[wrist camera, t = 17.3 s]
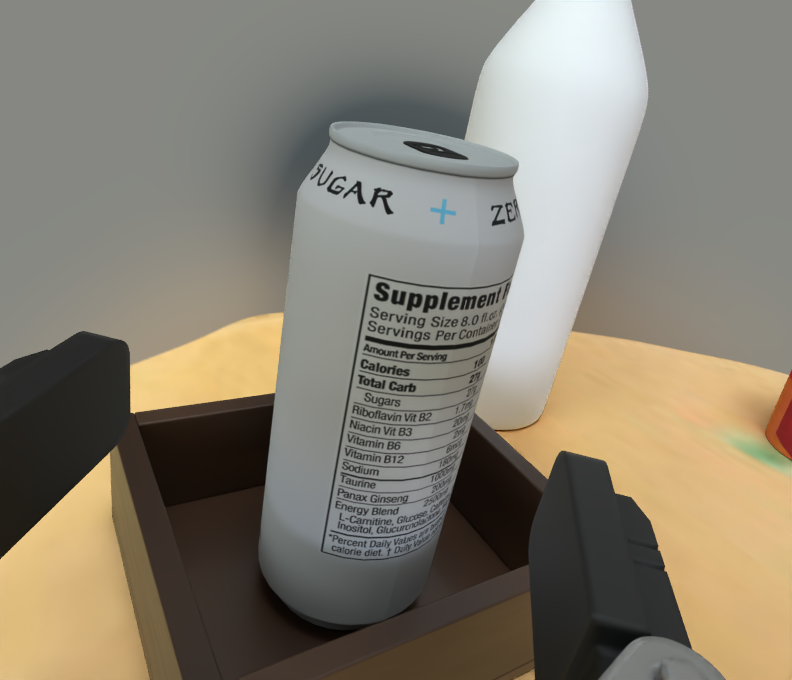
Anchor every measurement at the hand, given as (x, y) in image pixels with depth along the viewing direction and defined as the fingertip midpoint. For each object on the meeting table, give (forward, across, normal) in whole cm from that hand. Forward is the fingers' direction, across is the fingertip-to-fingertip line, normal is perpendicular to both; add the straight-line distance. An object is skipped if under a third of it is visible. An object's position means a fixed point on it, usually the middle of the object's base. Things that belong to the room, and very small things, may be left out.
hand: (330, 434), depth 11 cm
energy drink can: (+7, 0, +11) cm, 13 cm away
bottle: (+23, -4, +11) cm, 26 cm away
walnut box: (+7, 0, +11) cm, 13 cm away
